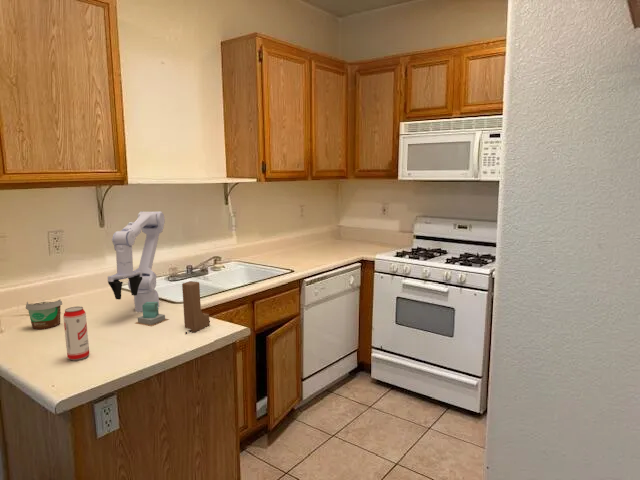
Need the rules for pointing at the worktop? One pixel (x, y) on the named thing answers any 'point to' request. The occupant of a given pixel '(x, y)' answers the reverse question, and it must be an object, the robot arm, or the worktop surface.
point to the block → (150, 309)
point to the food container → (44, 314)
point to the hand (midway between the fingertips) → (126, 297)
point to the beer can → (76, 333)
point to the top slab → (151, 319)
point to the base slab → (153, 324)
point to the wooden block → (193, 307)
